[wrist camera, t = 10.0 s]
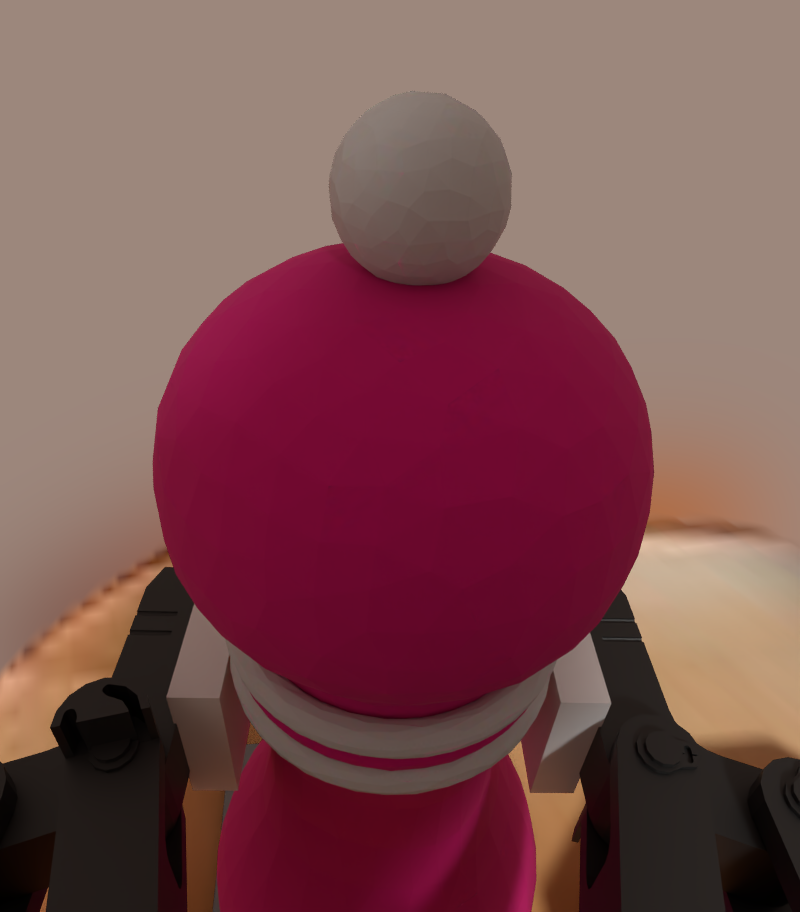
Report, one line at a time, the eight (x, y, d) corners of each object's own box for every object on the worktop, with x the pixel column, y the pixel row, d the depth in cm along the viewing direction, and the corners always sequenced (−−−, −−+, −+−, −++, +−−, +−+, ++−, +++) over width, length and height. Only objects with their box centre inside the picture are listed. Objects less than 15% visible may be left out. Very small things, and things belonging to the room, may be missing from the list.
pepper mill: (486, 1155, 14) (1167, 319, 2) (186, 1048, 16) (-344, 128, 4) (518, 824, 20) (773, 78, 8) (296, 762, 21) (230, 32, 9)
